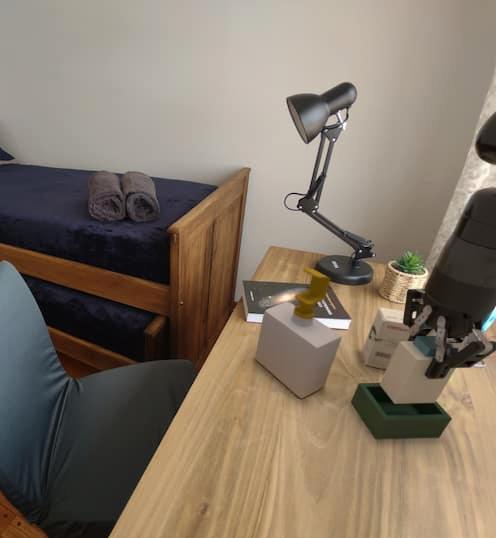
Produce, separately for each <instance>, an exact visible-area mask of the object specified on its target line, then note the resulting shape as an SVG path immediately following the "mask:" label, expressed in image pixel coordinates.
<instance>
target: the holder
mask: <svg viewBox="0 0 496 538" xmlns="http://www.w3.org/2000/svg"><path fill="white" fill-rule="evenodd" d="M350 403H351V404H352V405H353V407H354V409H355V410H356V412H357V413H358V415H359V416H360V418H361V419H362V421H363V423H364V424H365V425H366V427H367V428H368V430H369V432H370V433H371V435H372V436H373V438H374V439H375V440H381V439H382V440H384V439H385V440H388V439H426V438H427V439H432V438H433V439H434V438H440V437H441V436H442V435H443V433H444V432H445V430H446V429H447V427H448V425H449V423H450V422H451V421H452V419H453V417H451V415H450V414H449V413H448V412H447V411H446V410H445V409H444V408H443V407H442V405H441V404H440V403H439V402H438V400H436V402H435V403H406V404H394V402H393V401H392V400H391V398H390V397H389V396H388V395H387V393H386V392H385V391H384V389H383V388H382V387H381V386H380V382H358V384H357V386H356V389H355V391H354V394H353V396H352V398H351V401H350Z"/></svg>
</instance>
